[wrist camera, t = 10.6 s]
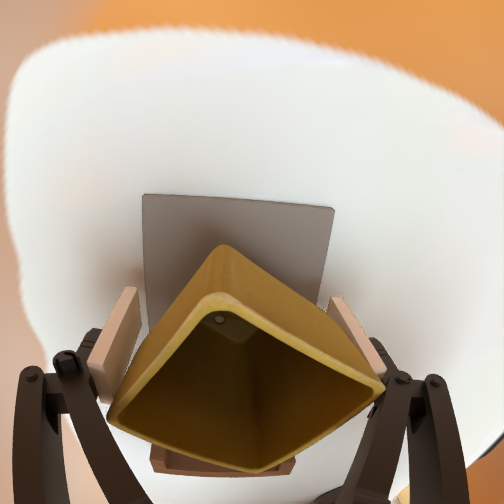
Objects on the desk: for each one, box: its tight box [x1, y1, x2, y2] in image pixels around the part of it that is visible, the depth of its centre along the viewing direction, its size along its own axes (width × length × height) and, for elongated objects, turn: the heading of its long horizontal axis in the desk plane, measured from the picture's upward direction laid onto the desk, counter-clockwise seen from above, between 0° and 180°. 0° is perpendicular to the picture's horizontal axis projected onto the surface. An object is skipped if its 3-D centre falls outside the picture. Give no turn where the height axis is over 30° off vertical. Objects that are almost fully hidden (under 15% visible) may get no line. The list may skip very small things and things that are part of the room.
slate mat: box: [142, 194, 335, 333], centre depth 20 cm, size 12×12×1 cm
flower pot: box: [106, 244, 386, 474], centre depth 14 cm, size 9×9×9 cm
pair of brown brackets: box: [149, 443, 296, 477], centre depth 24 cm, size 15×15×4 cm
